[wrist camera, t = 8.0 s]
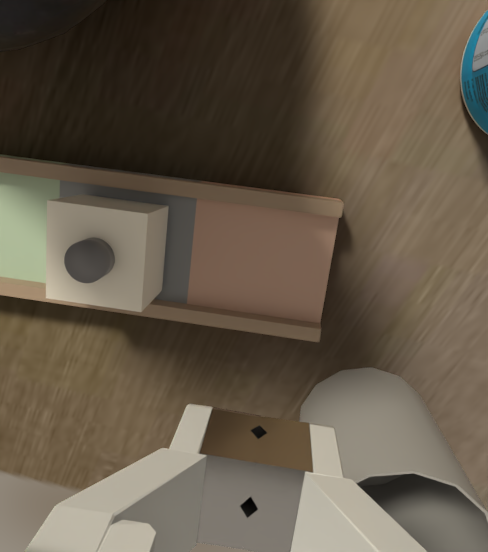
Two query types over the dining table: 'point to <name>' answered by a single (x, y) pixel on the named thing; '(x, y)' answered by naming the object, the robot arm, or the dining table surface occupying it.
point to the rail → (188, 245)
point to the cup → (400, 458)
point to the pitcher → (40, 20)
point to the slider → (105, 251)
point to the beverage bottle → (476, 74)
